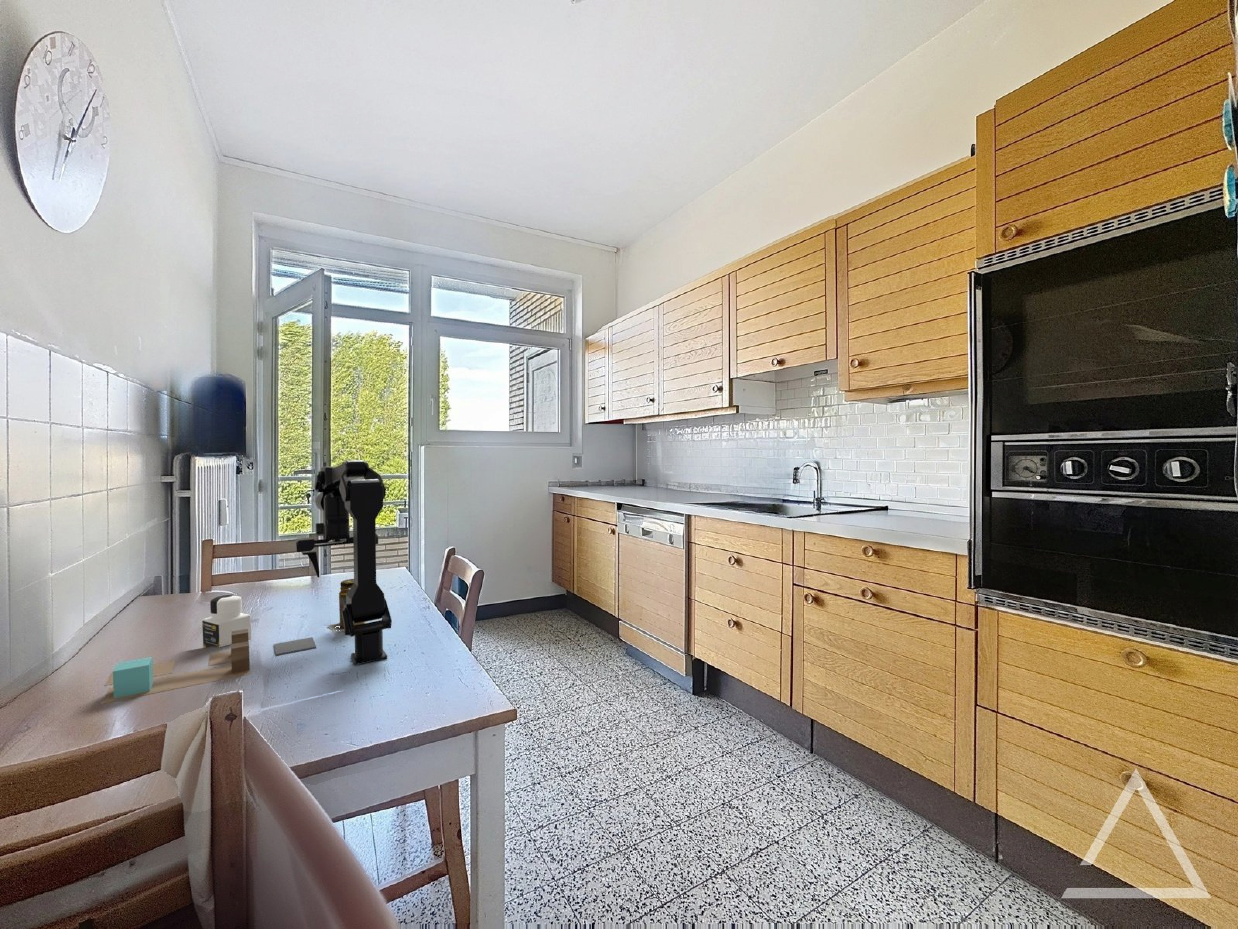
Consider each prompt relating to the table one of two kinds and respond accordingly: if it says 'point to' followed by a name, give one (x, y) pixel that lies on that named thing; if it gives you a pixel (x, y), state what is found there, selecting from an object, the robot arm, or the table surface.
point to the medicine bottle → (224, 621)
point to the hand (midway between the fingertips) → (338, 574)
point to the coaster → (294, 646)
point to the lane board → (157, 671)
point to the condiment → (342, 601)
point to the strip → (197, 675)
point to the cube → (132, 677)
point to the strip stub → (225, 657)
